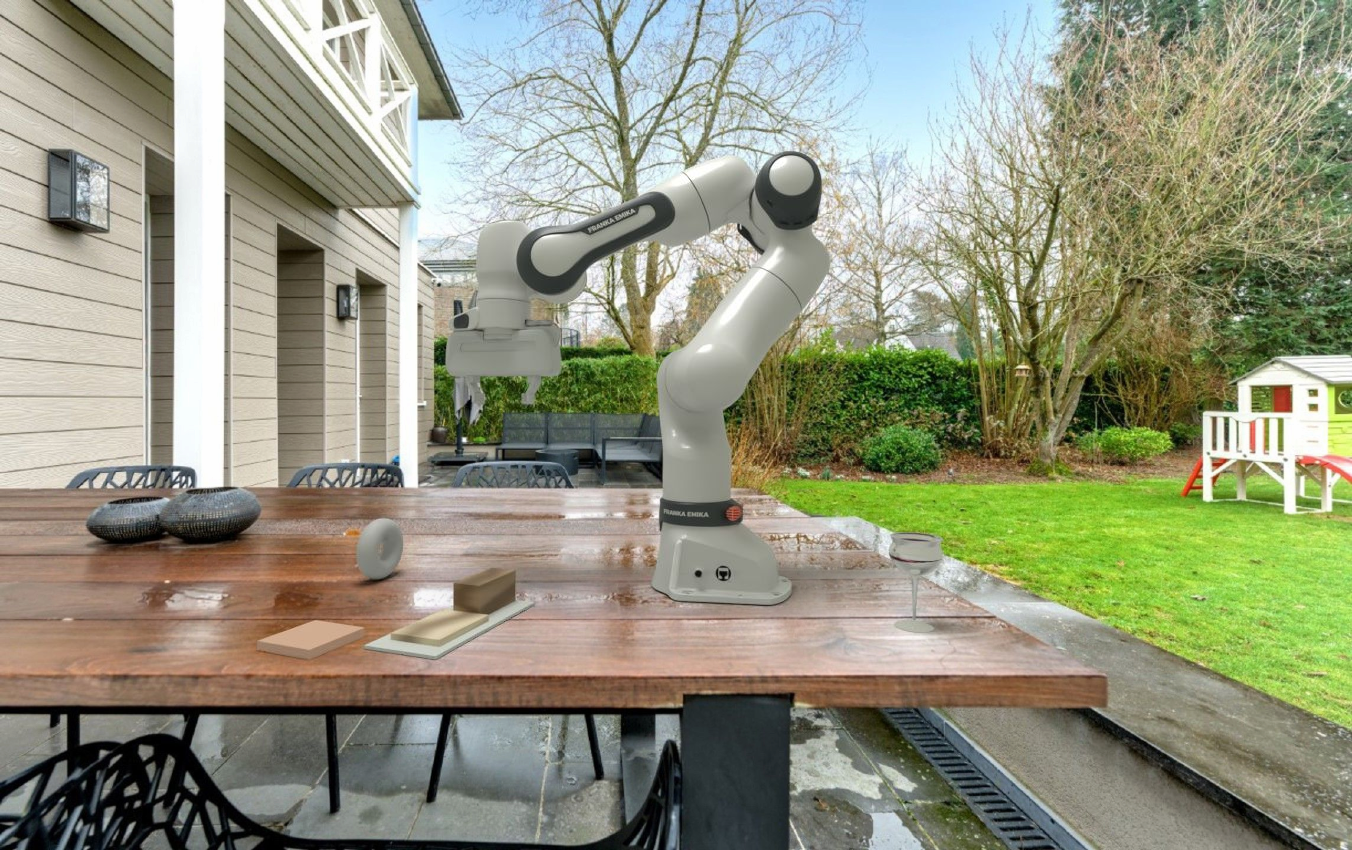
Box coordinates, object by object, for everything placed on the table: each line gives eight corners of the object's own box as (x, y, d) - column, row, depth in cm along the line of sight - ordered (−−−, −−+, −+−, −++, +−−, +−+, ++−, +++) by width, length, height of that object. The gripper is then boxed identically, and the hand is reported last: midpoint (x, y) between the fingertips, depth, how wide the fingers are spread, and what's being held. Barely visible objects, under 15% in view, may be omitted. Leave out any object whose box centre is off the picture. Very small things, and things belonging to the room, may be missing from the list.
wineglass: (943, 637, 84) (945, 543, 83) (887, 631, 86) (889, 539, 85) (938, 621, 90) (940, 533, 90) (886, 615, 92) (888, 530, 92)
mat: (534, 604, 95) (534, 602, 95) (435, 659, 74) (435, 656, 74) (475, 597, 98) (475, 595, 98) (364, 648, 77) (364, 645, 77)
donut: (370, 587, 103) (370, 524, 103) (351, 586, 104) (351, 523, 104) (407, 571, 113) (407, 514, 113) (389, 570, 114) (389, 513, 113)
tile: (364, 627, 81) (309, 649, 74) (364, 640, 81) (309, 664, 74) (315, 620, 84) (257, 640, 76) (315, 632, 84) (257, 654, 76)
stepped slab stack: (524, 601, 95) (524, 570, 95) (439, 646, 77) (439, 608, 77) (482, 597, 97) (482, 566, 97) (390, 639, 79) (390, 602, 79)
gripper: (568, 321, 109) (567, 404, 109) (463, 324, 115) (462, 403, 116) (550, 316, 103) (549, 404, 103) (440, 319, 109) (439, 403, 110)
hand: (502, 403), depth 109 cm, fingers open, 8 cm apart
